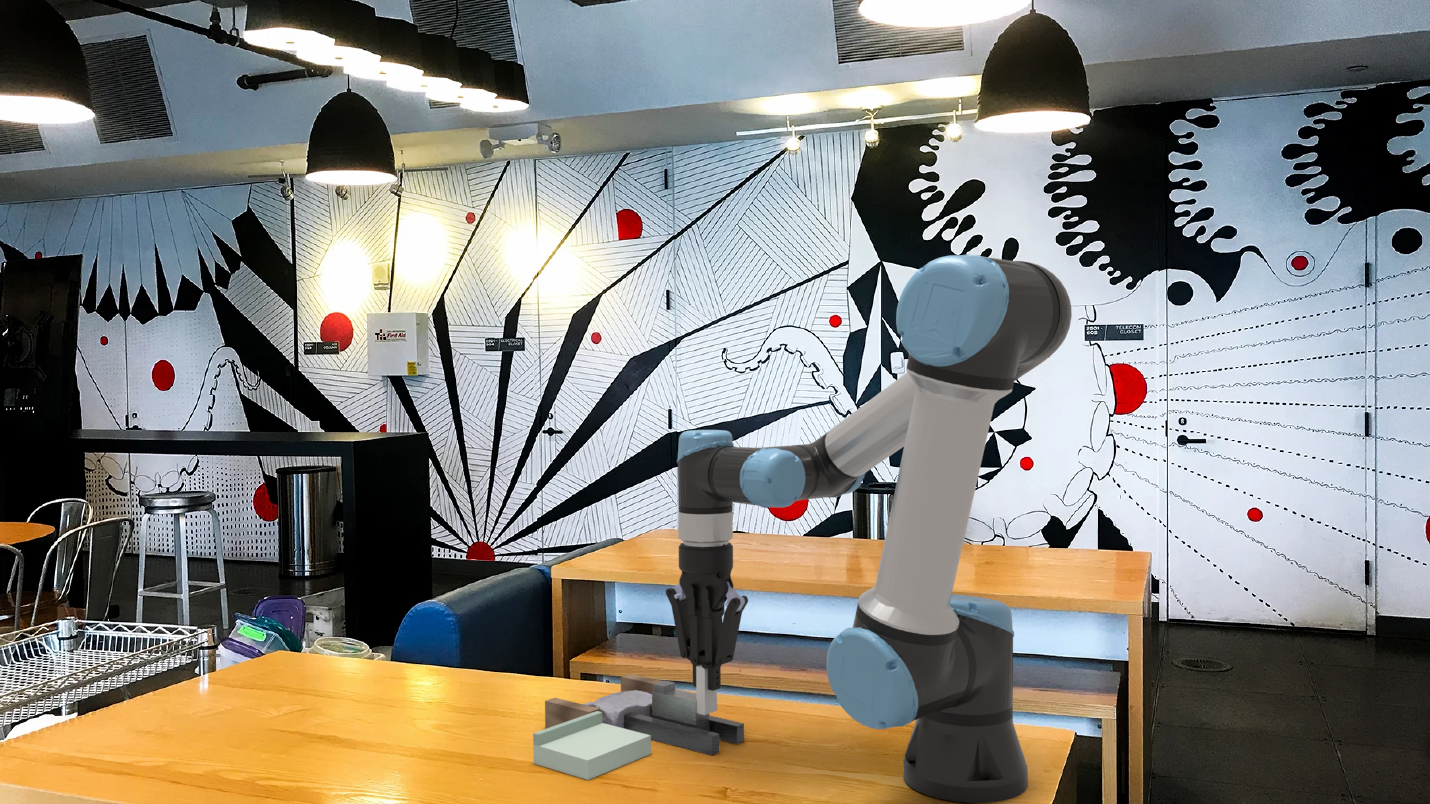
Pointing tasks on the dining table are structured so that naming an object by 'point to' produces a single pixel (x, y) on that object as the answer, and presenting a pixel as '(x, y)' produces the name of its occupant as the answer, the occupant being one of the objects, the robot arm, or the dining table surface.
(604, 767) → the pale green ledge block
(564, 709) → the brown piece
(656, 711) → the grey metal block
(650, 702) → the stone block
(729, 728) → the guide
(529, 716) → the dining table surface
